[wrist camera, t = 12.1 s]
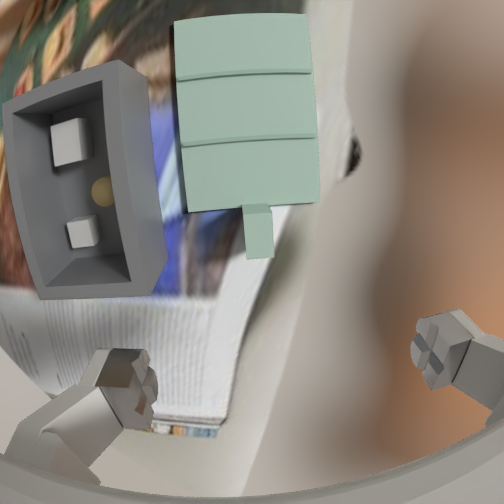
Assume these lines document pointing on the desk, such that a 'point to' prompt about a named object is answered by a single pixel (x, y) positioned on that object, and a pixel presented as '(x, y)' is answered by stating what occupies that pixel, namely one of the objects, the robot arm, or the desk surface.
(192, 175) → the lid
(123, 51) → the desk surface
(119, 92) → the tub
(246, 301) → the desk surface
